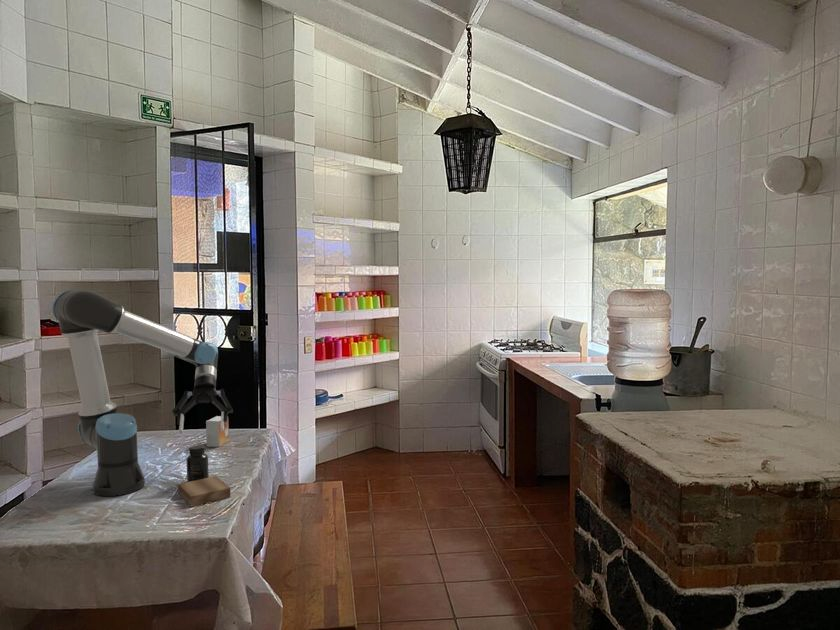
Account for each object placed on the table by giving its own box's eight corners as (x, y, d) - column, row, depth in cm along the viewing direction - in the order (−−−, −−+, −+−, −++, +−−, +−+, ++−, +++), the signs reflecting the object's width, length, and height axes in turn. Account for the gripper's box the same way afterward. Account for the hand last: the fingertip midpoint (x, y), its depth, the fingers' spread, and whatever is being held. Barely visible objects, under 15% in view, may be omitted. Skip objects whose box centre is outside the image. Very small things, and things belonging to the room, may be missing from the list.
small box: (219, 447, 241) (218, 421, 240) (206, 446, 242) (205, 420, 241) (229, 441, 248) (228, 416, 247) (217, 440, 250) (216, 415, 249)
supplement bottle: (213, 480, 204) (212, 445, 203) (198, 487, 198) (197, 451, 197) (198, 477, 207) (196, 443, 206) (182, 484, 201) (181, 448, 200)
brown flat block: (191, 506, 183) (190, 496, 182) (178, 493, 193) (178, 484, 193) (230, 496, 190) (230, 487, 190) (216, 484, 200) (215, 476, 200)
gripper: (241, 384, 230) (239, 434, 217) (171, 387, 225) (165, 438, 212) (239, 373, 225) (238, 423, 211) (168, 375, 219) (161, 427, 206)
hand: (201, 431), depth 211 cm, fingers open, 13 cm apart
